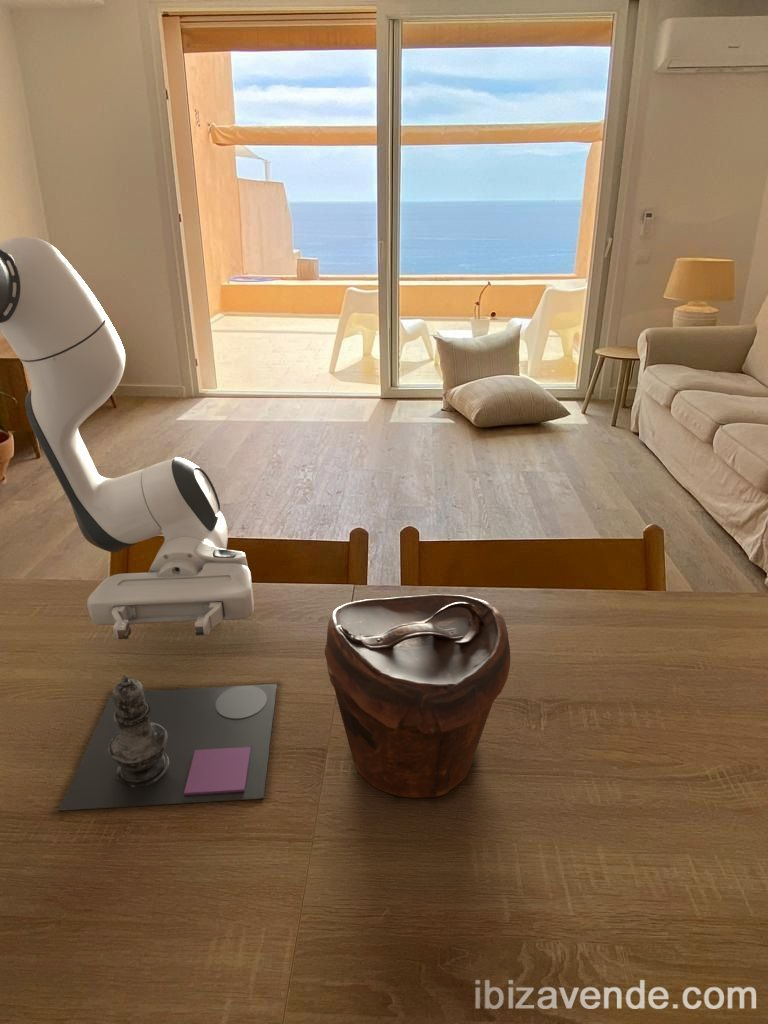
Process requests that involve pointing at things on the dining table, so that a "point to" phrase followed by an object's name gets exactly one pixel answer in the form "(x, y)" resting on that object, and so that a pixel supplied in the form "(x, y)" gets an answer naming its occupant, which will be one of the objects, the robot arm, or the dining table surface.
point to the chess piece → (136, 737)
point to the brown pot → (416, 686)
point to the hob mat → (180, 746)
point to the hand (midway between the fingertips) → (160, 632)
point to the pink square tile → (218, 771)
